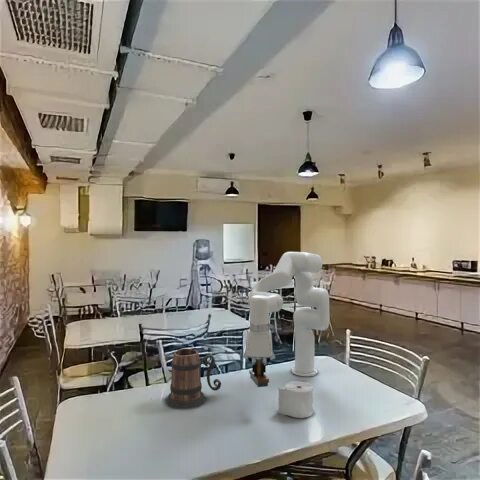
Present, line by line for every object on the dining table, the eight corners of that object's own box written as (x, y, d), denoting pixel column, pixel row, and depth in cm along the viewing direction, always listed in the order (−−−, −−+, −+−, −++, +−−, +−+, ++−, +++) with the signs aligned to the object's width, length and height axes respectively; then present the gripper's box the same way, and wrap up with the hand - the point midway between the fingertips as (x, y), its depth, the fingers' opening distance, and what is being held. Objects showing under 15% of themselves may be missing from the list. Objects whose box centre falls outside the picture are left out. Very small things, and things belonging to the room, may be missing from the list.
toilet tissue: (318, 411, 159) (318, 386, 159) (299, 422, 150) (299, 395, 150) (295, 403, 166) (296, 379, 166) (277, 413, 158) (277, 387, 157)
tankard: (169, 411, 158) (169, 360, 158) (161, 394, 174) (161, 348, 173) (227, 402, 167) (227, 354, 166) (214, 387, 183) (214, 342, 182)
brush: (249, 377, 165) (249, 355, 164) (259, 376, 166) (260, 354, 166) (257, 387, 154) (258, 364, 154) (269, 386, 155) (269, 363, 155)
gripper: (279, 325, 163) (279, 371, 163) (239, 324, 163) (238, 370, 164) (280, 330, 155) (280, 378, 156) (238, 329, 156) (238, 377, 157)
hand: (258, 373), depth 160 cm, fingers closed on brush, 2 cm apart
